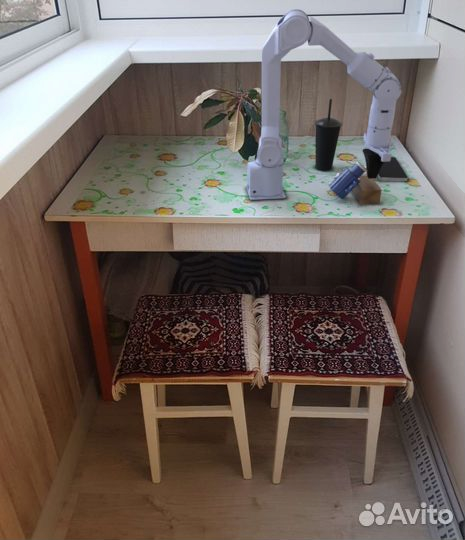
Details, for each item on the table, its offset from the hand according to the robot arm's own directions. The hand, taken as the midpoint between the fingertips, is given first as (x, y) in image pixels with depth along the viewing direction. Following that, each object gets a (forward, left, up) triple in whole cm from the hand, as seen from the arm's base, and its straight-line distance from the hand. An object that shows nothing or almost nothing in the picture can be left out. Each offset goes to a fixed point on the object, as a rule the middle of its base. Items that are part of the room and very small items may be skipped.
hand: (371, 177), depth 130 cm
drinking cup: (-7, +20, -6) cm, 22 cm away
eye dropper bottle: (+4, +12, -4) cm, 13 cm away
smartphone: (+11, +16, -6) cm, 20 cm away
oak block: (-1, 0, -5) cm, 6 cm away
